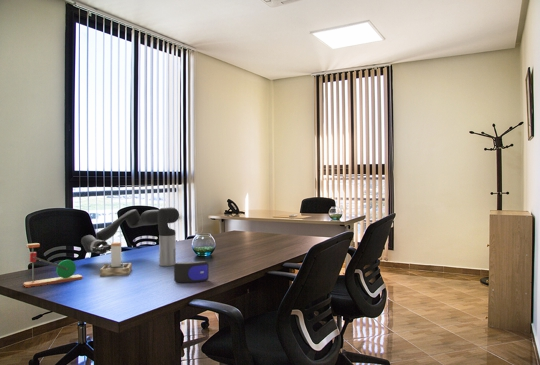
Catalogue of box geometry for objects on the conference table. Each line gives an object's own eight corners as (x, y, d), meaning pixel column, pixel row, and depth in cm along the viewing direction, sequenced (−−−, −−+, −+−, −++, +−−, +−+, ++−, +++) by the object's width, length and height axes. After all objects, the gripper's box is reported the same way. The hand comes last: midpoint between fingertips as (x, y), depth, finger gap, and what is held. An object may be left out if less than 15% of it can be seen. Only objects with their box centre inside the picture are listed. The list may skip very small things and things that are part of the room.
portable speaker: (174, 284, 189) (174, 264, 189) (174, 282, 194) (174, 262, 194) (209, 282, 193) (209, 262, 193) (208, 280, 197) (208, 260, 197)
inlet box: (131, 269, 224) (131, 262, 224) (128, 274, 210) (128, 267, 210) (104, 270, 220) (104, 263, 220) (100, 276, 207) (99, 268, 207)
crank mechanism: (26, 288, 184) (26, 245, 184) (22, 285, 189) (22, 244, 189) (83, 279, 201) (83, 240, 201) (78, 276, 206) (78, 239, 206)
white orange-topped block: (121, 270, 218) (121, 242, 218) (120, 271, 214) (120, 243, 214) (112, 270, 217) (112, 242, 217) (111, 272, 213) (111, 243, 213)
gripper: (86, 241, 228) (97, 244, 216) (111, 239, 237) (123, 241, 226) (86, 254, 228) (97, 258, 216) (111, 251, 237) (123, 255, 225)
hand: (110, 249), depth 221 cm, fingers open, 8 cm apart
